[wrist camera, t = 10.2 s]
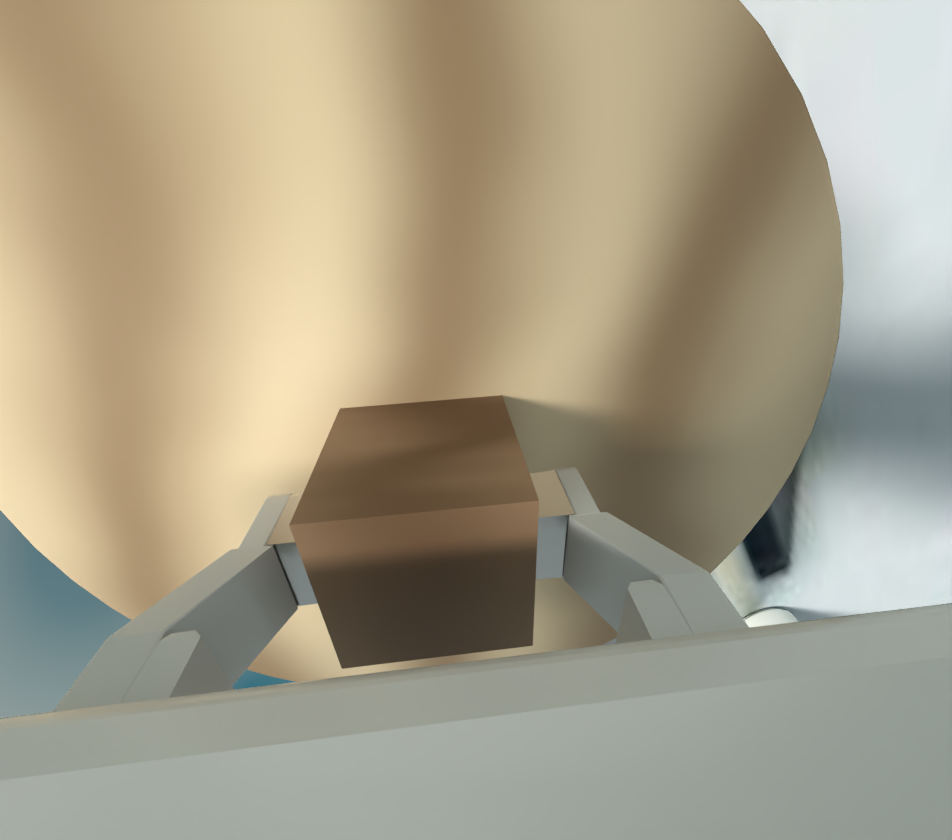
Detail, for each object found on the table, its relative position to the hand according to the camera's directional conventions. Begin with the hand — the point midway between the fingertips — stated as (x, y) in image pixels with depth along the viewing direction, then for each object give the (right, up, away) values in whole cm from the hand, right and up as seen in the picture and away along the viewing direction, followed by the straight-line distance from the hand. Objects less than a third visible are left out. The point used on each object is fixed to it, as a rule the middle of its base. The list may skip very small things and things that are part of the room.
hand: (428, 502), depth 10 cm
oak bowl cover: (0, +1, +2) cm, 2 cm away
